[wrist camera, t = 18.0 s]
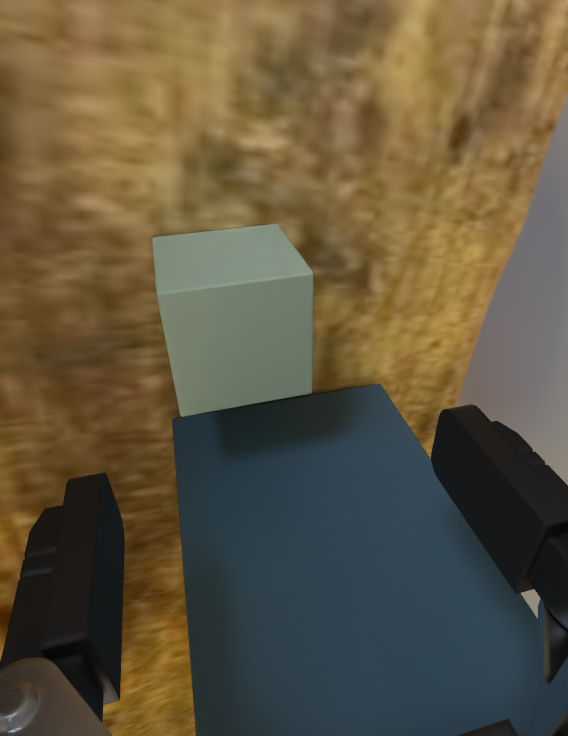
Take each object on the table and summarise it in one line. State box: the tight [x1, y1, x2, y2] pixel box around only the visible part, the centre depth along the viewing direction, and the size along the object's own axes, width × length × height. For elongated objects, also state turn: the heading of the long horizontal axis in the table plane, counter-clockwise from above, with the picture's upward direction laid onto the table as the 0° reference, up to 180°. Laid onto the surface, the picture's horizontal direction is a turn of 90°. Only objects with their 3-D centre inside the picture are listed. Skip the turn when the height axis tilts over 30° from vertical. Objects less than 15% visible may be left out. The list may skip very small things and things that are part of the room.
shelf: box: [172, 384, 538, 736], centre depth 19 cm, size 18×12×15 cm
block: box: [152, 224, 314, 417], centre depth 17 cm, size 5×5×5 cm
